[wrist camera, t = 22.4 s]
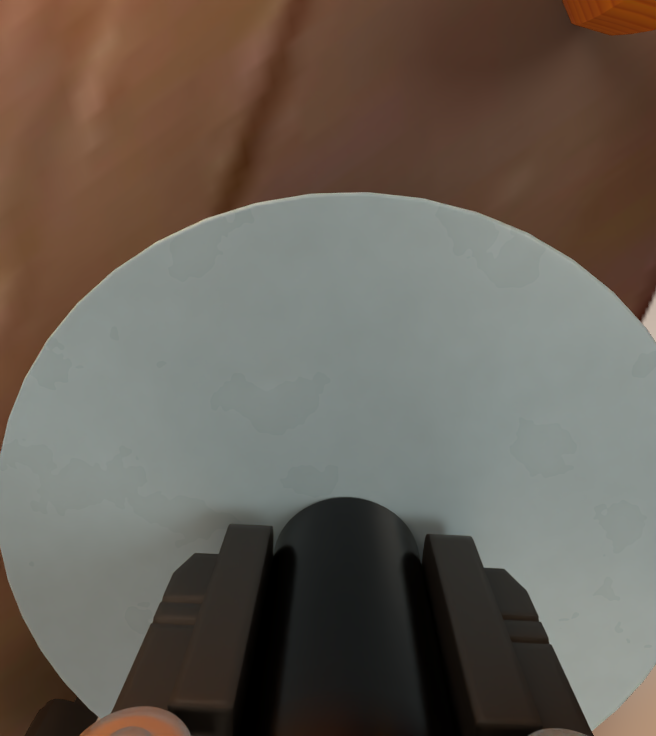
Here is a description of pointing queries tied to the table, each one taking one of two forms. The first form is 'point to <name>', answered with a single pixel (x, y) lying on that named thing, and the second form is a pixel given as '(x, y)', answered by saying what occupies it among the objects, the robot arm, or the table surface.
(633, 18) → the carrot
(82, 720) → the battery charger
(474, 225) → the lid
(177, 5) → the table surface
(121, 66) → the table surface
